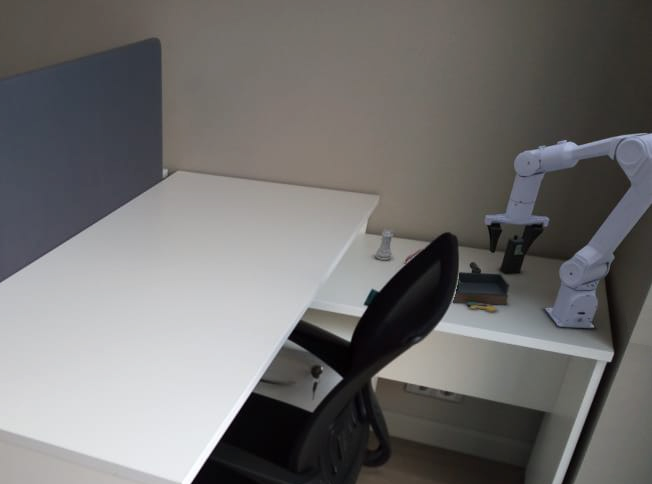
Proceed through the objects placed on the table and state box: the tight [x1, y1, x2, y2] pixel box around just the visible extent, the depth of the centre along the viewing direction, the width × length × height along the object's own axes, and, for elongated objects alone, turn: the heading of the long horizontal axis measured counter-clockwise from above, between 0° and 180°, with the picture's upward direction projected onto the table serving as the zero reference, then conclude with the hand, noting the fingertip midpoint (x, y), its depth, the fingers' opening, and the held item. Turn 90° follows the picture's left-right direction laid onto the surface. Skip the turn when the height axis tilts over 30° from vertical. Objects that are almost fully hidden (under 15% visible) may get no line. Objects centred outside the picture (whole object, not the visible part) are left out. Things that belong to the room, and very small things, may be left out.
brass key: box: [469, 305, 496, 313], centre depth 180 cm, size 6×2×1 cm, turn 67°
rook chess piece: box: [375, 229, 394, 261], centre depth 207 cm, size 4×4×8 cm
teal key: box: [466, 302, 492, 307], centre depth 182 cm, size 5×2×1 cm, turn 85°
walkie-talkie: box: [499, 225, 526, 274], centre depth 196 cm, size 5×3×15 cm
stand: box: [452, 293, 509, 305], centre depth 186 cm, size 8×13×2 cm, turn 82°
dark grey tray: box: [456, 261, 511, 296], centre depth 185 cm, size 11×12×4 cm
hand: (507, 251), depth 186 cm, fingers open, 7 cm apart
